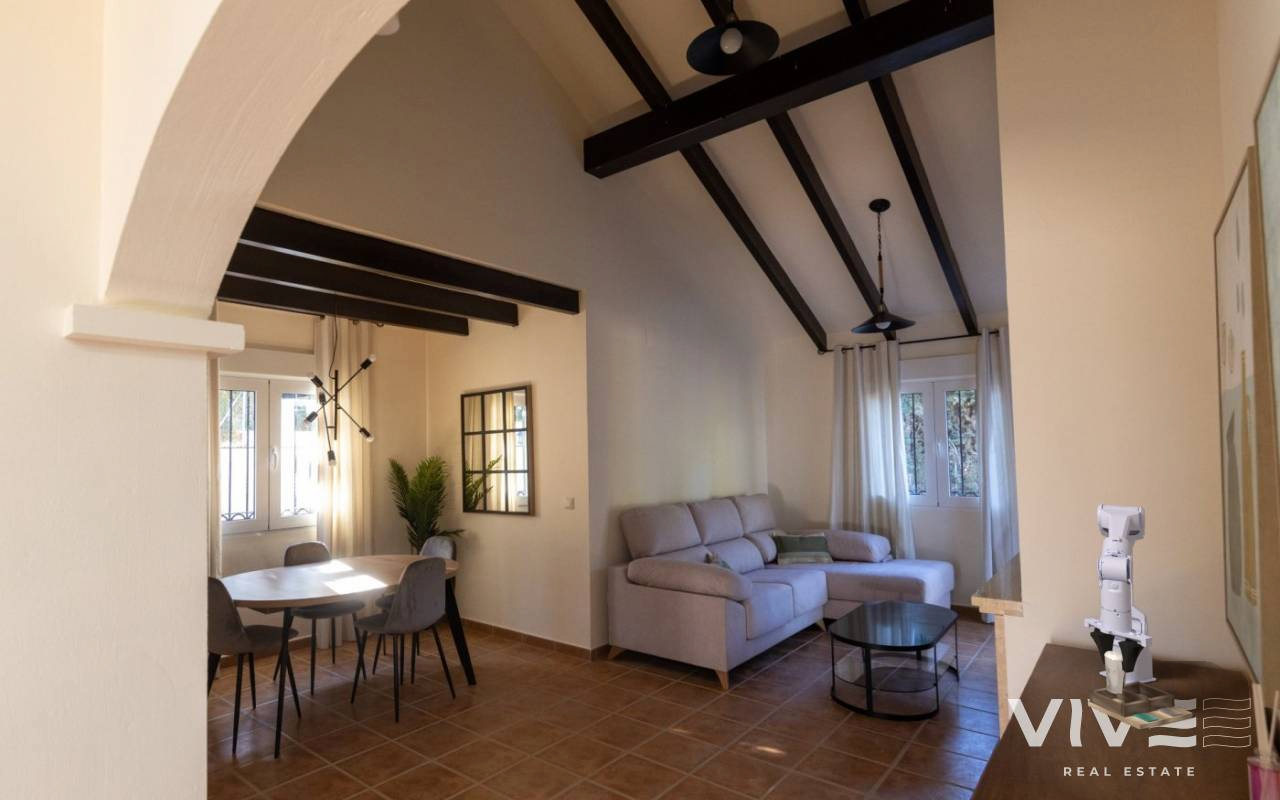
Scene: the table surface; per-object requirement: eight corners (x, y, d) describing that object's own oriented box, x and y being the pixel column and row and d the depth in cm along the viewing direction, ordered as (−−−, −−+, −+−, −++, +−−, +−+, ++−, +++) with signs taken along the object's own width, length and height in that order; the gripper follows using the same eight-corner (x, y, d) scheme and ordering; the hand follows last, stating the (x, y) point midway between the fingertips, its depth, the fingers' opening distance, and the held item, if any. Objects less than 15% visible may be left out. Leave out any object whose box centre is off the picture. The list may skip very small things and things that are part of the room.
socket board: (1138, 695, 159) (1137, 680, 159) (1192, 717, 148) (1192, 701, 148) (1088, 705, 155) (1087, 690, 155) (1140, 729, 143) (1139, 713, 143)
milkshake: (1135, 697, 149) (1137, 653, 149) (1109, 695, 150) (1111, 650, 150) (1124, 689, 153) (1125, 646, 154) (1099, 687, 154) (1100, 644, 154)
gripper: (1073, 601, 158) (1075, 658, 158) (1134, 620, 144) (1136, 682, 144) (1096, 598, 160) (1097, 654, 160) (1158, 616, 146) (1160, 677, 146)
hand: (1117, 667), depth 152 cm, fingers closed on milkshake, 4 cm apart
